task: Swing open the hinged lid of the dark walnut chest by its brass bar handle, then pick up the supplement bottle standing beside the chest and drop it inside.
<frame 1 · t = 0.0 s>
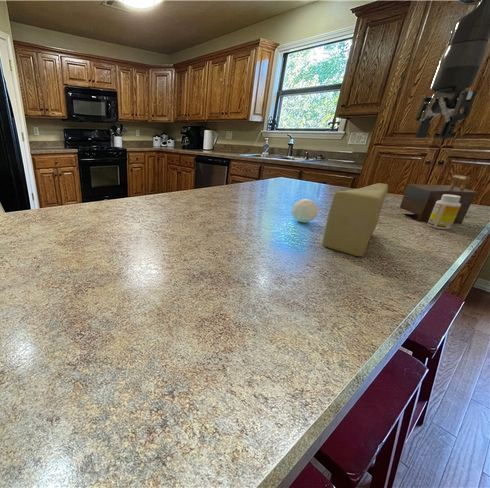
hand: (431, 138, 72), 27 cm above the worktop, tool pointing down, fingers open, 8 cm apart
cheese: (355, 242, 74), on the worktop
supplement bottle: (437, 227, 86), on the worktop
lid: (443, 182, 90), point 12 cm above the worktop, hinge at 0.0°
chest: (427, 217, 95), on the worktop
ball: (302, 222, 90), on the worktop
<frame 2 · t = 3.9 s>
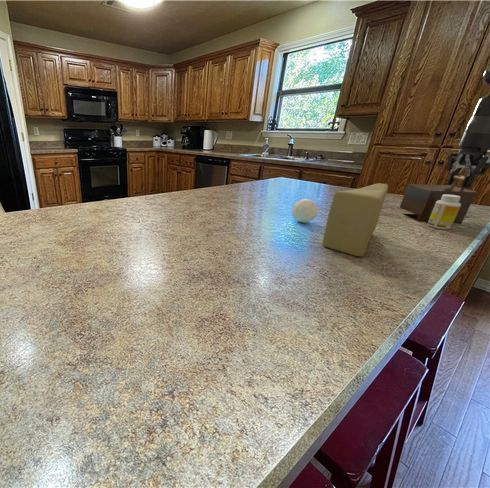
hand: (457, 186, 90), 11 cm above the worktop, tool pointing down, fingers closed on lid, 5 cm apart
lid: (443, 182, 90), point 12 cm above the worktop, hinge at 0.0°, touching gripper
everything else where it was.
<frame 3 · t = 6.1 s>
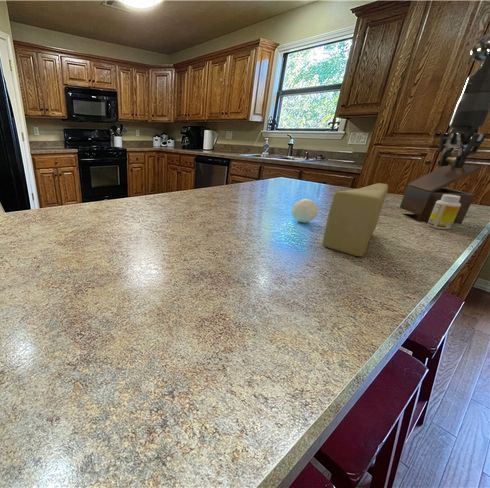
hand: (450, 166, 88), 18 cm above the worktop, tool pointing down, fingers closed on lid, 5 cm apart
lid: (439, 171, 89), point 16 cm above the worktop, hinge at 35.8°, touching gripper
everything else where it was.
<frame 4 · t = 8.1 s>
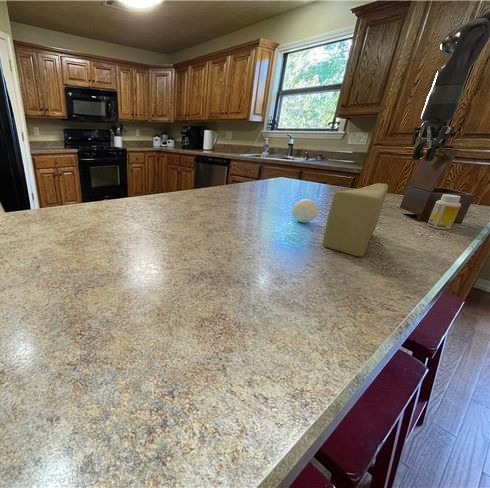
hand: (421, 160, 89), 19 cm above the worktop, tool pointing down, fingers closed on lid, 5 cm apart
lid: (424, 167, 90), point 17 cm above the worktop, hinge at 78.4°, touching gripper
everything else where it was.
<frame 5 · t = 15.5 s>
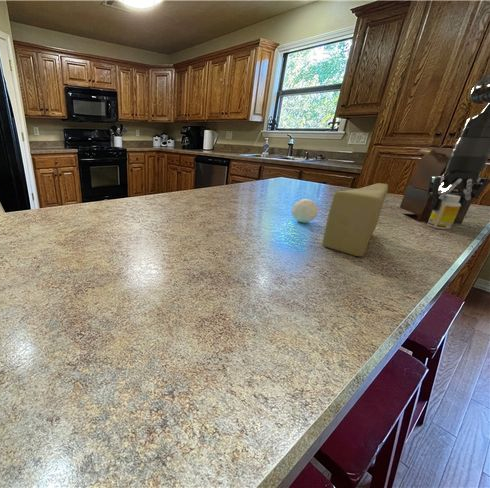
hand: (445, 210, 84), 6 cm above the worktop, tool pointing down, fingers closed on supplement bottle, 5 cm apart
supplement bottle: (437, 227, 86), on the worktop, touching gripper
lid: (423, 167, 90), point 17 cm above the worktop, hinge at 79.4°
everything else where it was.
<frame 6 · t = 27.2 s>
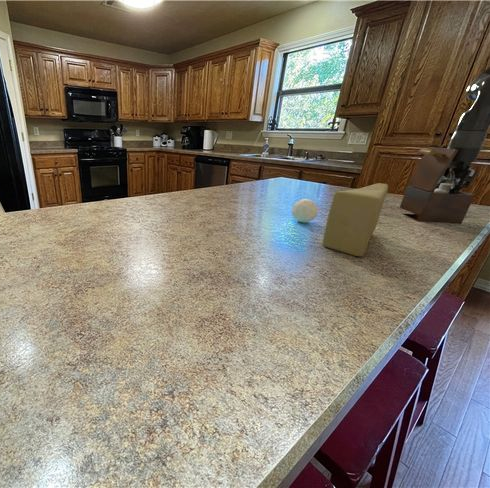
hand: (443, 197, 92), 7 cm above the worktop, tool pointing down, fingers closed on supplement bottle, 5 cm apart
supplement bottle: (436, 213, 94), point 2 cm above the worktop, touching gripper
everything else where it was.
when the fingers open (10 cm above the worktop, at t = 45.9 s): supplement bottle drops 4 cm, resting on chest.
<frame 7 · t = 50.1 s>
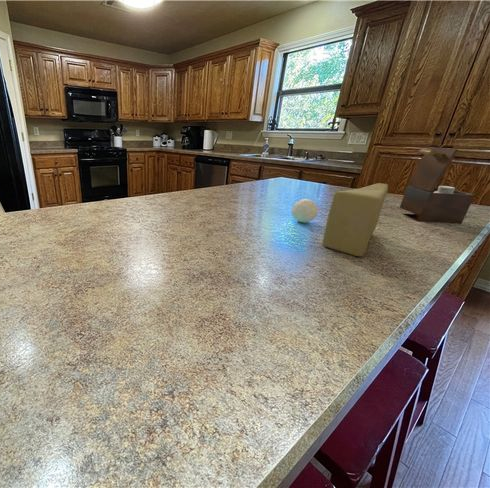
supplement bottle: (434, 216, 95), point 1 cm above the worktop, touching chest
everything else where it was.
at the end: lid at +79° (first picture: +0°); supplement bottle inside the target area in the chest (2.1 cm from its centre), point 0.6 cm above the chest's base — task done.
